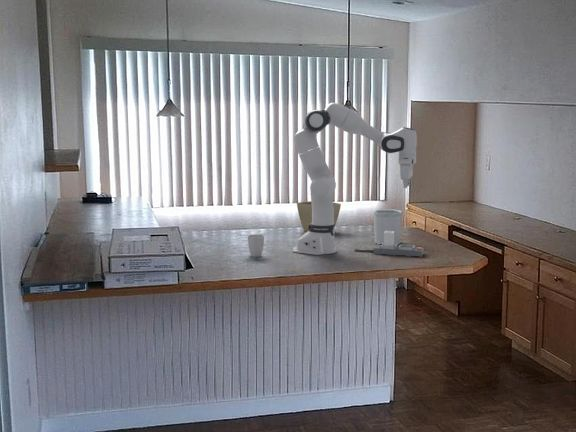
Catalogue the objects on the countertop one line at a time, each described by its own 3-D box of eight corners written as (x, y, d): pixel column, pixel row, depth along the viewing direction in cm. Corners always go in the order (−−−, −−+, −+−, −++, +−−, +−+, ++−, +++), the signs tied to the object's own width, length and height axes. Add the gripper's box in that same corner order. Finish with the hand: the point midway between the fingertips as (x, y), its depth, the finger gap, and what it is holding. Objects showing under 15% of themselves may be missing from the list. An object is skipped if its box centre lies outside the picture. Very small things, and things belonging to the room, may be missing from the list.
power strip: (352, 252, 361) (353, 244, 360) (356, 249, 369) (356, 241, 368) (421, 257, 351) (421, 248, 350) (423, 253, 359) (423, 245, 358)
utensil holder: (387, 246, 375) (388, 214, 373) (367, 242, 387) (368, 210, 384) (406, 243, 385) (407, 211, 382) (386, 239, 396) (386, 208, 393)
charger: (383, 248, 358) (384, 231, 356) (385, 246, 362) (385, 230, 361) (392, 248, 357) (392, 232, 355) (393, 246, 361) (394, 230, 359)
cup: (267, 255, 354) (267, 235, 353) (258, 258, 347) (258, 238, 346) (253, 253, 358) (253, 233, 357) (244, 256, 351) (244, 236, 350)
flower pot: (319, 227, 432) (319, 199, 430) (341, 231, 418) (341, 203, 415) (295, 230, 420) (295, 202, 418) (317, 235, 406) (317, 206, 403)
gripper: (403, 158, 368) (403, 184, 371) (398, 161, 349) (397, 189, 351) (416, 158, 367) (415, 184, 369) (411, 161, 347) (410, 189, 350)
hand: (406, 187), depth 360 cm, fingers open, 8 cm apart
